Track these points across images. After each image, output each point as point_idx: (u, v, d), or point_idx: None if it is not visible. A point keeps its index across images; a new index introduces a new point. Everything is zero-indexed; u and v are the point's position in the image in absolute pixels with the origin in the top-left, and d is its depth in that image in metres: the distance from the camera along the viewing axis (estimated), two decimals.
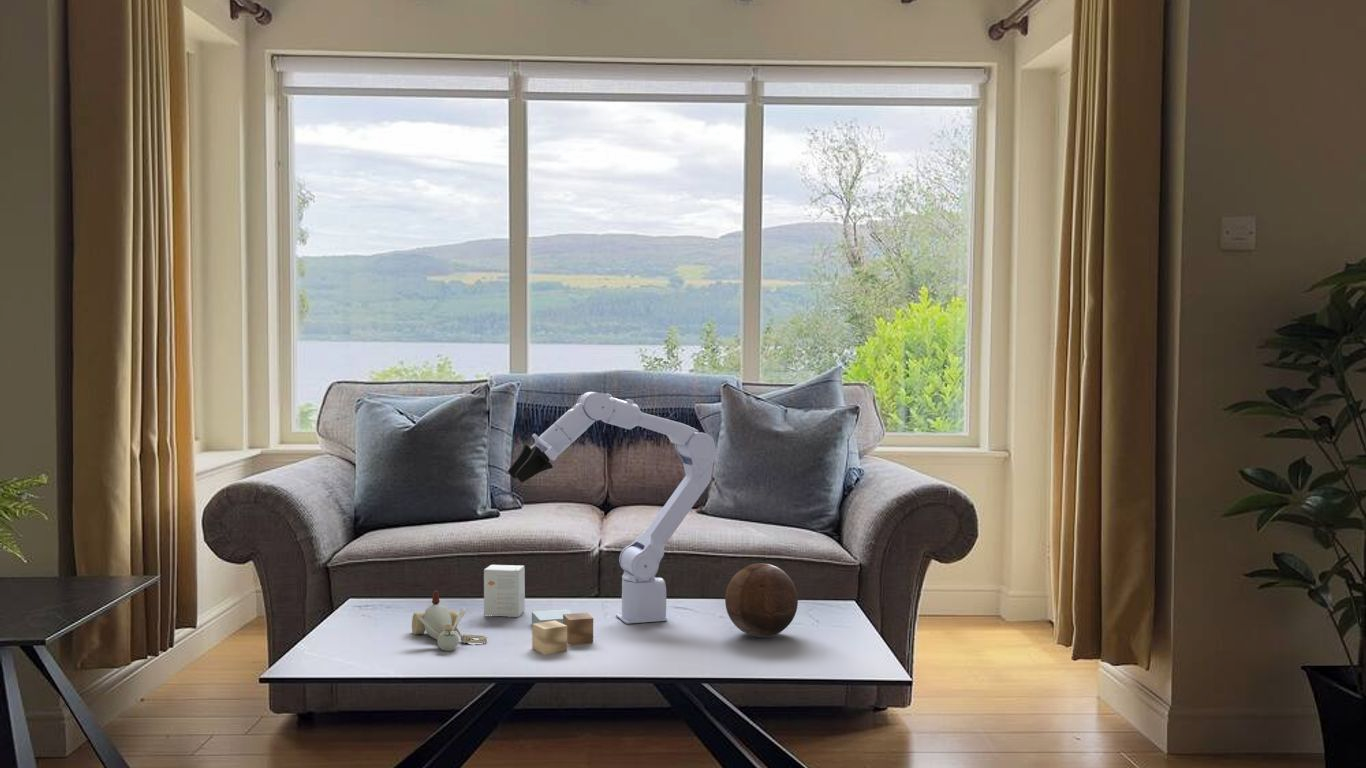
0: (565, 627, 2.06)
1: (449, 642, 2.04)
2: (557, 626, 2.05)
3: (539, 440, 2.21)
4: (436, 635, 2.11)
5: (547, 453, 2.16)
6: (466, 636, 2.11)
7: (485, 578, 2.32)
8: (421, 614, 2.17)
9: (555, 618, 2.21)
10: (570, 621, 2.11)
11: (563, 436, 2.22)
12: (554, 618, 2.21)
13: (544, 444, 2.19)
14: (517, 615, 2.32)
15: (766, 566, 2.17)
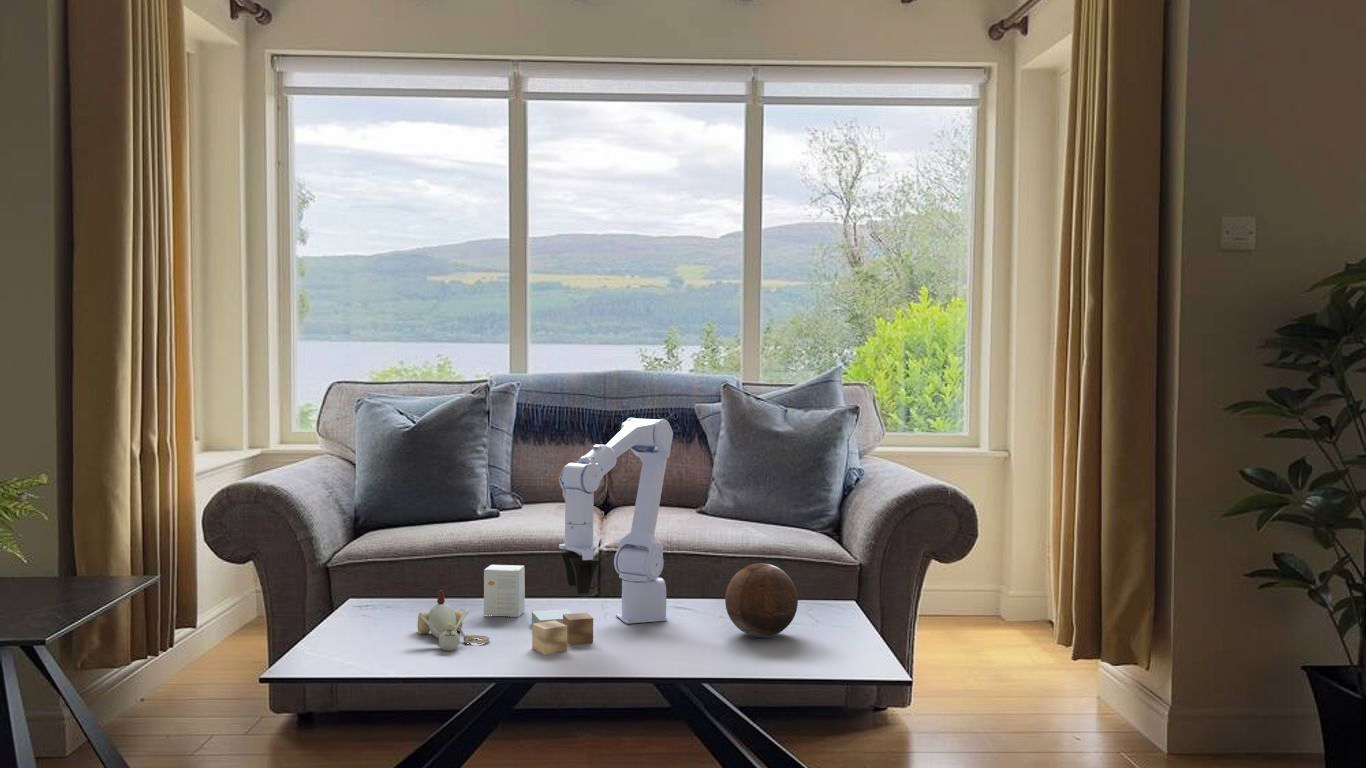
0: (565, 627, 2.06)
1: (450, 642, 2.04)
2: (557, 626, 2.05)
3: (568, 548, 2.11)
4: (439, 635, 2.11)
5: (585, 558, 2.06)
6: (469, 636, 2.10)
7: (485, 578, 2.32)
8: (426, 614, 2.17)
9: (555, 618, 2.21)
10: (570, 621, 2.11)
11: (582, 527, 2.11)
12: (554, 618, 2.21)
13: (575, 550, 2.09)
14: (517, 615, 2.32)
15: (766, 566, 2.17)
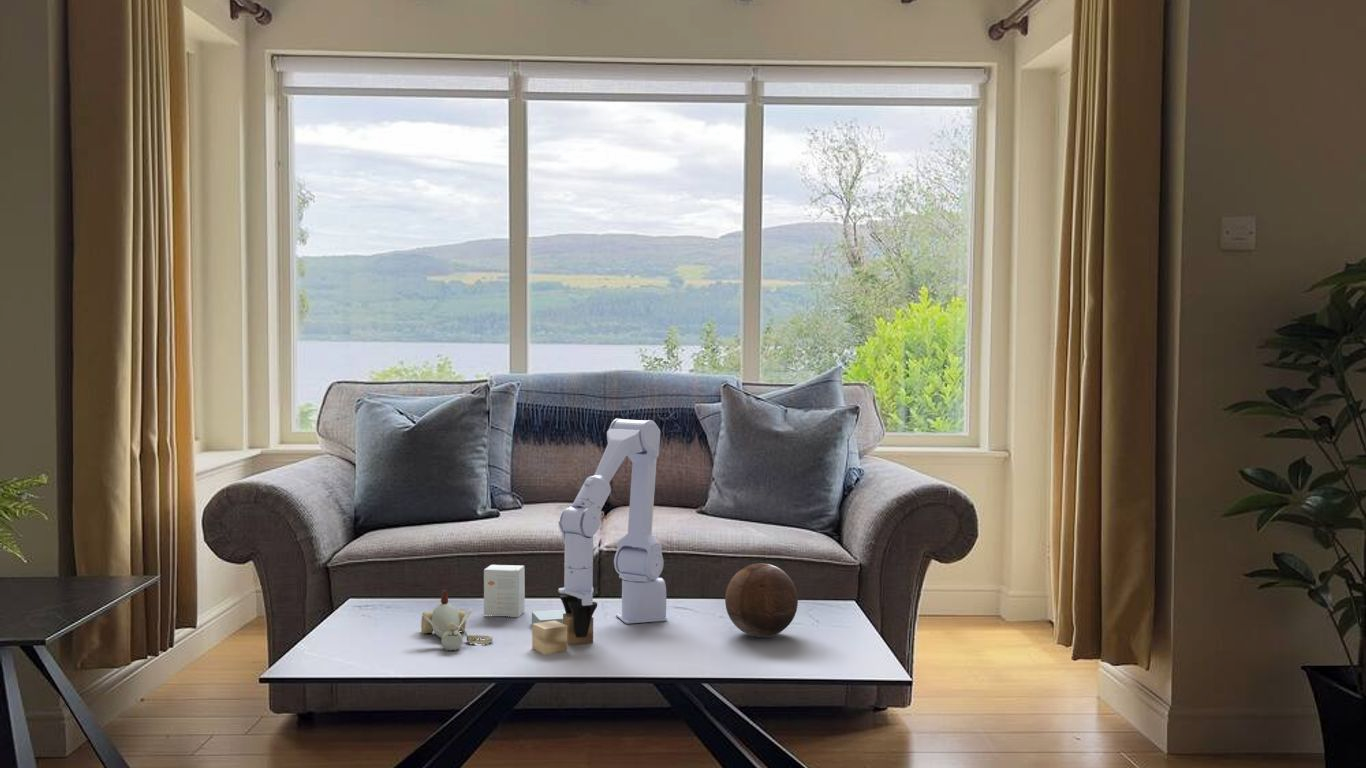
0: (565, 627, 2.06)
1: (452, 642, 2.04)
2: (557, 626, 2.05)
3: (568, 592, 2.11)
4: (442, 635, 2.11)
5: (584, 604, 2.07)
6: (471, 636, 2.10)
7: (485, 578, 2.32)
8: (430, 613, 2.17)
9: (555, 618, 2.21)
10: (570, 620, 2.11)
11: (582, 572, 2.11)
12: (554, 618, 2.21)
13: (575, 595, 2.09)
14: (517, 615, 2.32)
15: (766, 566, 2.17)
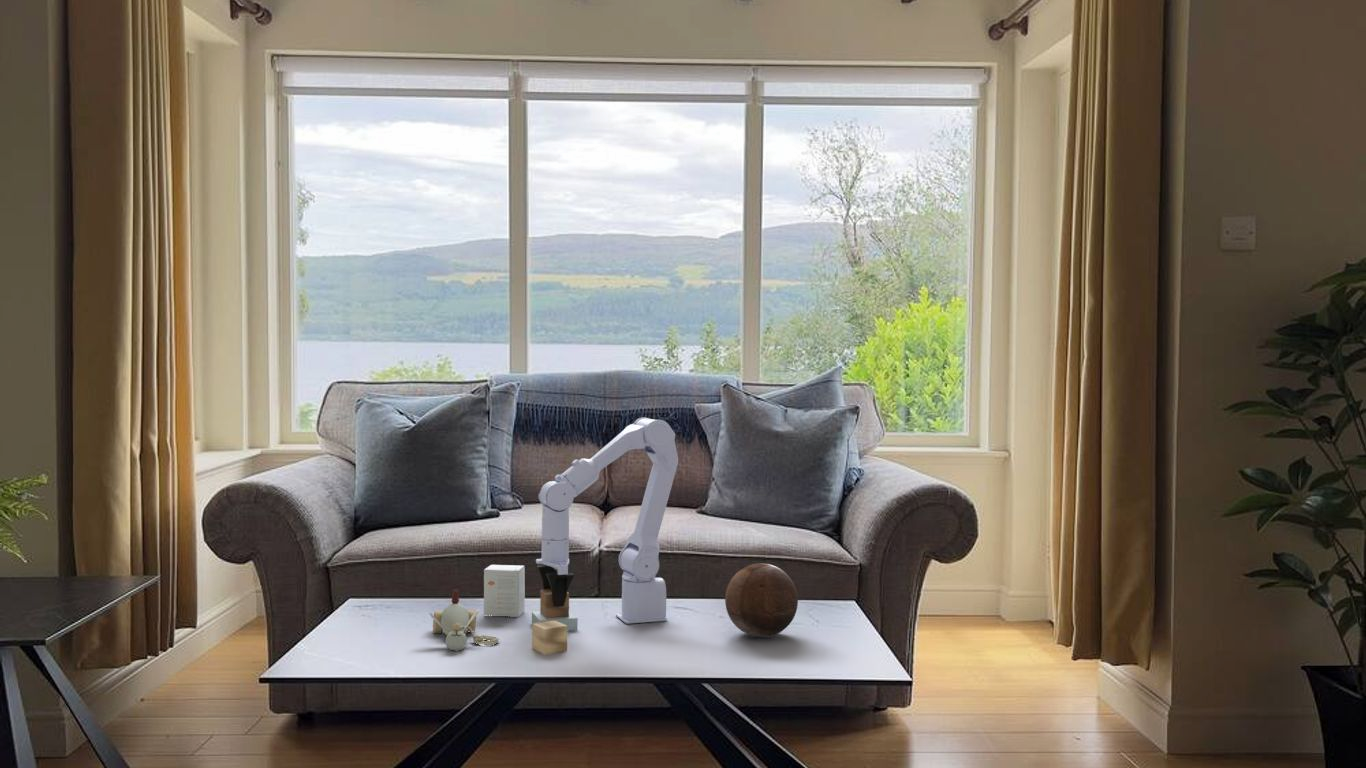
0: (565, 627, 2.06)
1: (456, 643, 2.04)
2: (557, 626, 2.05)
3: (544, 563, 2.22)
4: None
5: (560, 573, 2.17)
6: (478, 637, 2.10)
7: (485, 578, 2.32)
8: (440, 613, 2.18)
9: (555, 618, 2.21)
10: (547, 596, 2.21)
11: (558, 543, 2.21)
12: (554, 618, 2.21)
13: (551, 565, 2.20)
14: (517, 615, 2.32)
15: (766, 566, 2.17)
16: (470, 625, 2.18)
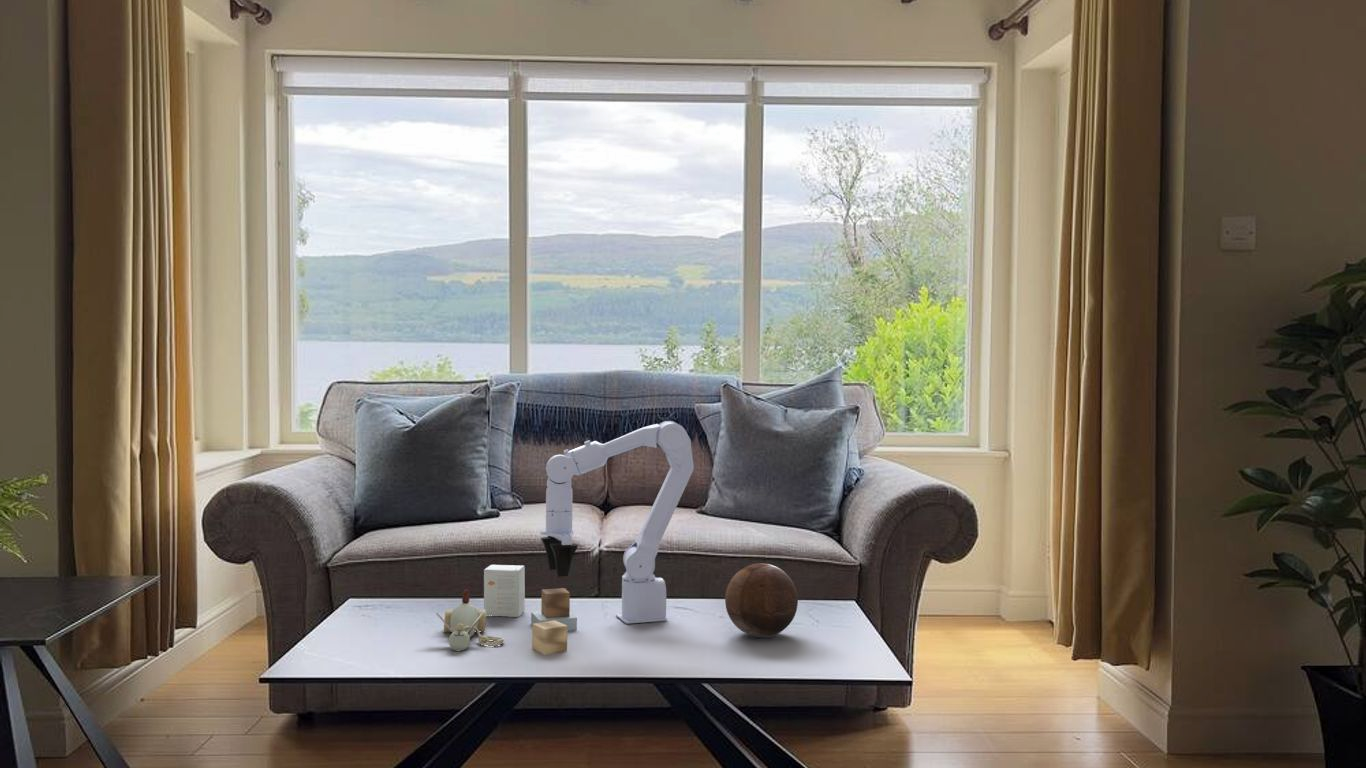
0: (565, 627, 2.06)
1: (458, 643, 2.04)
2: (557, 626, 2.05)
3: (549, 534, 2.27)
4: None
5: (564, 543, 2.22)
6: (482, 637, 2.10)
7: (485, 578, 2.32)
8: (451, 612, 2.19)
9: (554, 618, 2.21)
10: (547, 595, 2.21)
11: (562, 515, 2.27)
12: (553, 618, 2.21)
13: (555, 536, 2.25)
14: (517, 615, 2.32)
15: (766, 566, 2.17)
16: (479, 625, 2.18)
